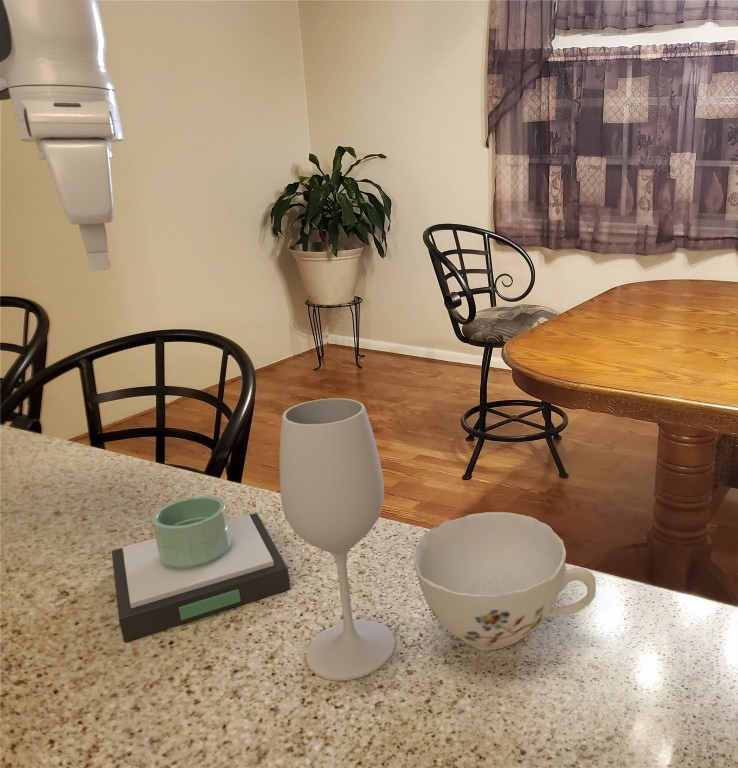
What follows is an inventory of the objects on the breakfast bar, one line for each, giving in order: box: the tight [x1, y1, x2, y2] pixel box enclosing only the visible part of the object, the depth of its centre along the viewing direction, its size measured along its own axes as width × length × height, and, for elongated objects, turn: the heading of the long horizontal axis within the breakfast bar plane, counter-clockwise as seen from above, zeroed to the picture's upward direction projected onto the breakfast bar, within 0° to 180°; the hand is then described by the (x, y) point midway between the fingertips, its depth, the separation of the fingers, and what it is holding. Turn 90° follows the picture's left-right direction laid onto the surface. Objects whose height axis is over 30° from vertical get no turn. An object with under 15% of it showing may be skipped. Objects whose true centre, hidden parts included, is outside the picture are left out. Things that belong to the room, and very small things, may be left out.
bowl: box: [151, 495, 231, 569], centre depth 65 cm, size 6×6×4 cm
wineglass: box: [279, 397, 396, 681], centre depth 54 cm, size 8×8×21 cm
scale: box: [111, 512, 291, 643], centre depth 66 cm, size 14×13×3 cm
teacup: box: [413, 511, 597, 651], centre depth 57 cm, size 15×12×8 cm
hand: (99, 264), depth 71 cm, fingers open, 8 cm apart
